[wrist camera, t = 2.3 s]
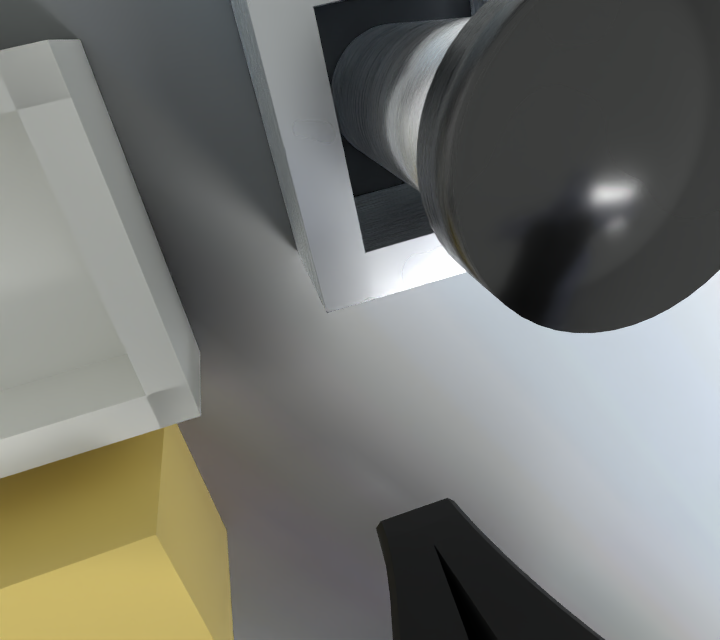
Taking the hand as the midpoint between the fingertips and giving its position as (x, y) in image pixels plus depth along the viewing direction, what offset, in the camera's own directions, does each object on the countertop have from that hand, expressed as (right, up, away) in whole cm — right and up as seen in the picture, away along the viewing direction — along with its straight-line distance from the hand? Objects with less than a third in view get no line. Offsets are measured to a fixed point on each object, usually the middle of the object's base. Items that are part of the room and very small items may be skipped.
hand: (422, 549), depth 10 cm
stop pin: (-1, +8, +1) cm, 8 cm away
